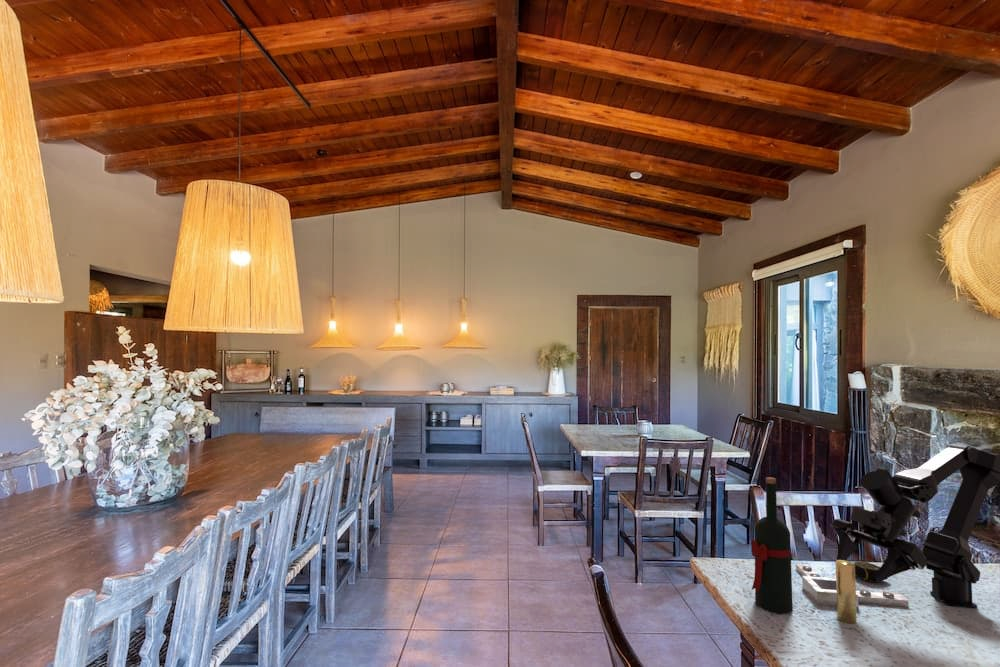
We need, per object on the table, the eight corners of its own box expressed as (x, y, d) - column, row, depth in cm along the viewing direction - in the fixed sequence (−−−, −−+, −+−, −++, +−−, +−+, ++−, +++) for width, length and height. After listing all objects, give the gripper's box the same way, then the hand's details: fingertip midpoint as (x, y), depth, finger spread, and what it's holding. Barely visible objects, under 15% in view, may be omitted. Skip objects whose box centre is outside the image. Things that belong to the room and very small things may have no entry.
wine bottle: (740, 603, 120) (738, 476, 121) (770, 595, 124) (767, 473, 125) (769, 618, 113) (766, 484, 114) (800, 610, 117) (797, 480, 118)
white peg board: (867, 574, 136) (867, 563, 136) (916, 612, 116) (915, 599, 116) (785, 568, 140) (784, 557, 140) (817, 604, 120) (817, 591, 120)
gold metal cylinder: (851, 616, 114) (850, 560, 115) (859, 624, 110) (858, 567, 111) (834, 614, 115) (832, 559, 115) (841, 623, 111) (840, 565, 112)
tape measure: (890, 583, 132) (890, 568, 132) (871, 586, 130) (871, 571, 130) (864, 572, 138) (864, 558, 138) (846, 575, 136) (846, 561, 136)
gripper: (835, 485, 125) (801, 534, 122) (915, 506, 107) (878, 564, 104) (860, 515, 127) (827, 563, 123) (942, 540, 109) (907, 598, 106)
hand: (856, 571), depth 114 cm, fingers open, 9 cm apart
